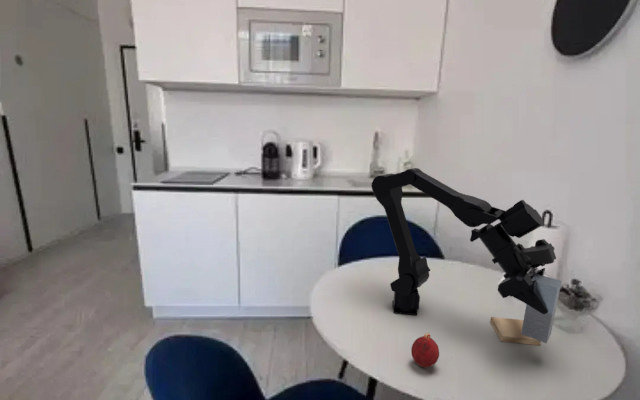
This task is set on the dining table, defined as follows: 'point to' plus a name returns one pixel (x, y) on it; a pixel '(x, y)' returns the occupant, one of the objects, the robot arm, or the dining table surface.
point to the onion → (425, 351)
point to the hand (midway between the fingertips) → (548, 308)
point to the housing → (537, 322)
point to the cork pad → (511, 331)
